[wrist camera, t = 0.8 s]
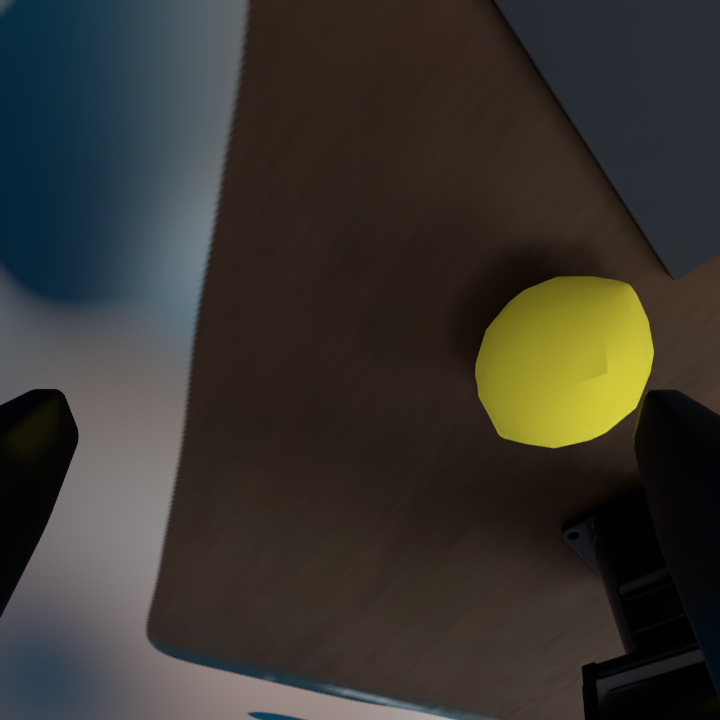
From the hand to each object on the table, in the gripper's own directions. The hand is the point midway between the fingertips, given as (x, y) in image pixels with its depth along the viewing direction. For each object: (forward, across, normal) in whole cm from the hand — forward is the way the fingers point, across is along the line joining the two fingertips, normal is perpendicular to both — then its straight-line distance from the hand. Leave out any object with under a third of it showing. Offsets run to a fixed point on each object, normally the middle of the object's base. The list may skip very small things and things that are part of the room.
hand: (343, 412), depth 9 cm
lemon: (+13, -6, +6) cm, 16 cm away
